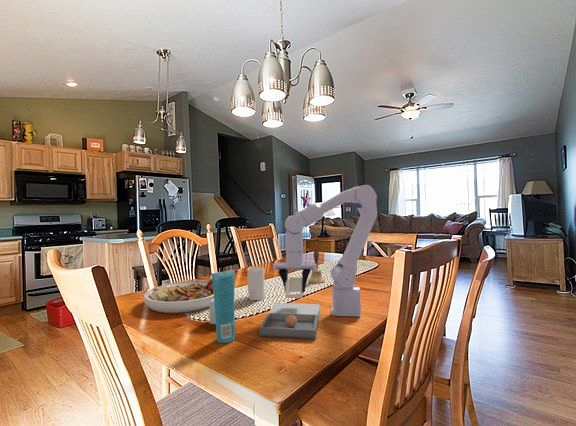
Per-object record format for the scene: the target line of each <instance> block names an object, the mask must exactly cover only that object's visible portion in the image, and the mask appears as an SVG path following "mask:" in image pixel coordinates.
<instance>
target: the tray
mask: <svg viewBox="0 0 576 426" xmlns="http://www.w3.org/2000/svg"><path fill="white" fill-rule="evenodd" d="M318 327H319V322H318V315H316V316H315V321H303V320H297V323H296V325H295V326H293V327H289V326H288V325H287V324H286V320H279V319H271V313H269V312H268V313H267V315H266V316H265V318H264V320H263V321H262V322H261V324H260V326H259V327H258V330H259V331H258V334H259V337H261V338H278V339H279V338H281V339H295V340H296V339H298V340H299V339H301V340H317V334H318Z"/></svg>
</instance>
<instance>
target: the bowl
mask: <svg viewBox="0 0 576 426" xmlns="http://www.w3.org/2000/svg"><path fill="white" fill-rule="evenodd" d="M143 299H144V303H145V305H146V306H147V308H149V309H151V310H152V311H155V312H158V313H166V314H181V313H182V314H183V313H190V311H191V312H195V311H196V312H197V311H200V309H201V310H204V309H207V308H209V301H211V300H212V299H214V295H213V285H212V278H210V279H209V280H189V281H188V280H187V281H179V282H173V283H167V284H162V285H160V286H156V287H153V288H151V289H149V290H147V291H146V292H145V293H144V295H143Z"/></svg>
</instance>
